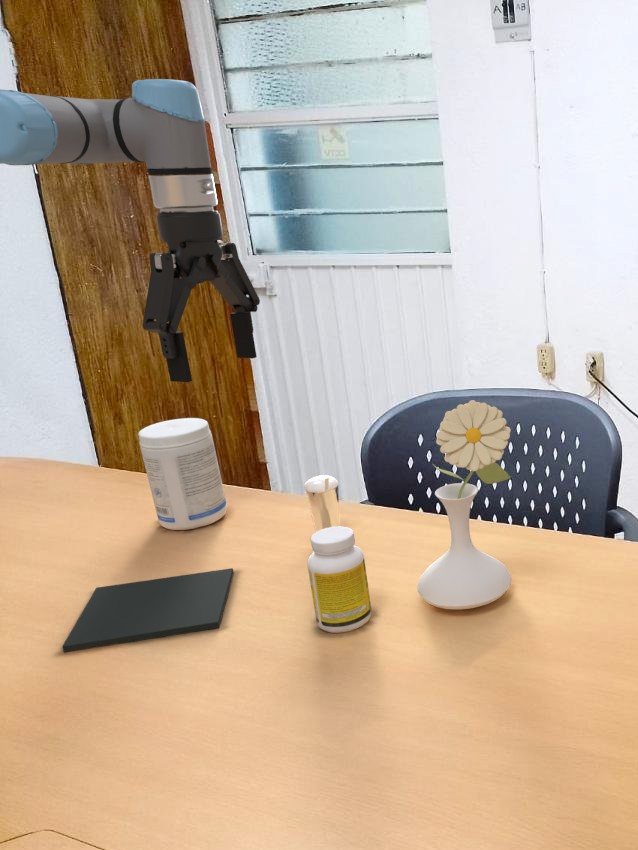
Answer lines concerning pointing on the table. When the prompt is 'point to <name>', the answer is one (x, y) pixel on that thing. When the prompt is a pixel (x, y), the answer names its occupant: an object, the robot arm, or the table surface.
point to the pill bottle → (338, 580)
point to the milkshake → (323, 501)
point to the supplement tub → (183, 473)
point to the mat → (151, 609)
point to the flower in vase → (467, 510)
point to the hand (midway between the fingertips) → (216, 369)
